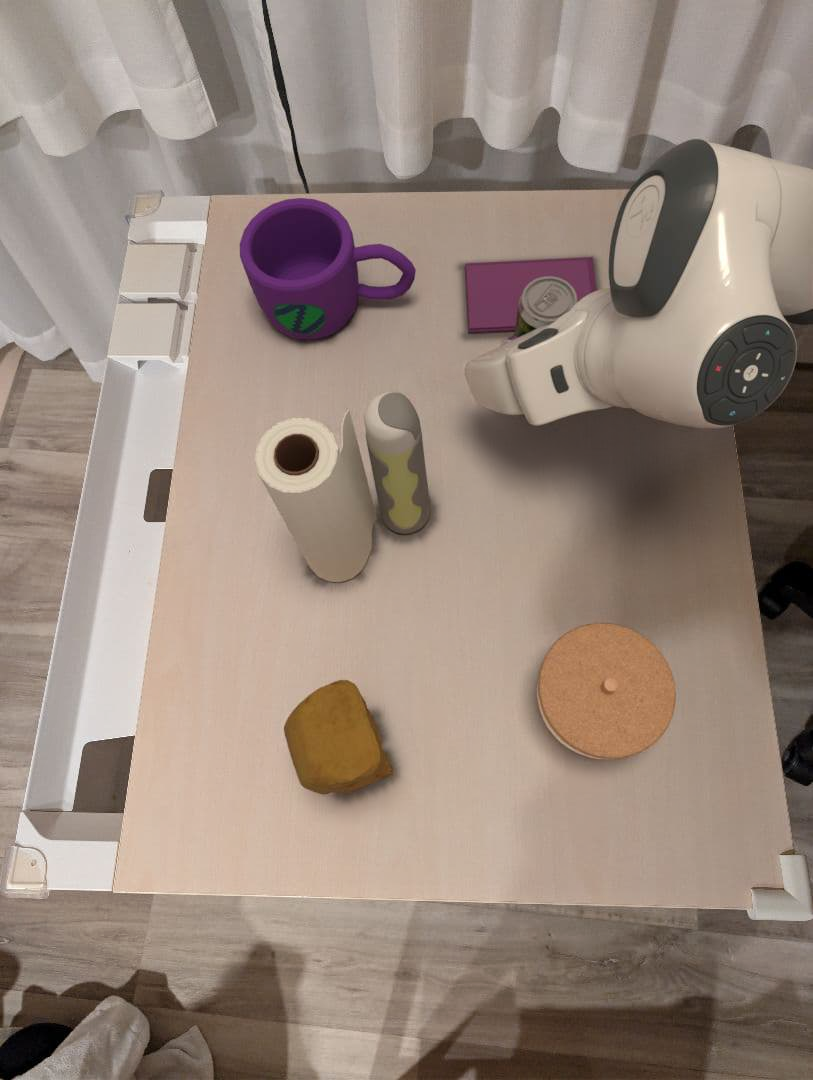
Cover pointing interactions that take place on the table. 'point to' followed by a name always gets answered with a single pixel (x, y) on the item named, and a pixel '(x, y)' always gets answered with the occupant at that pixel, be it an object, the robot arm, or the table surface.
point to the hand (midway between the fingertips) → (538, 331)
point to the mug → (311, 267)
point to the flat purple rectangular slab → (516, 288)
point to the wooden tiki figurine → (335, 741)
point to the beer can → (543, 303)
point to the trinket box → (606, 691)
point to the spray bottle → (397, 461)
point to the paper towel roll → (320, 493)
